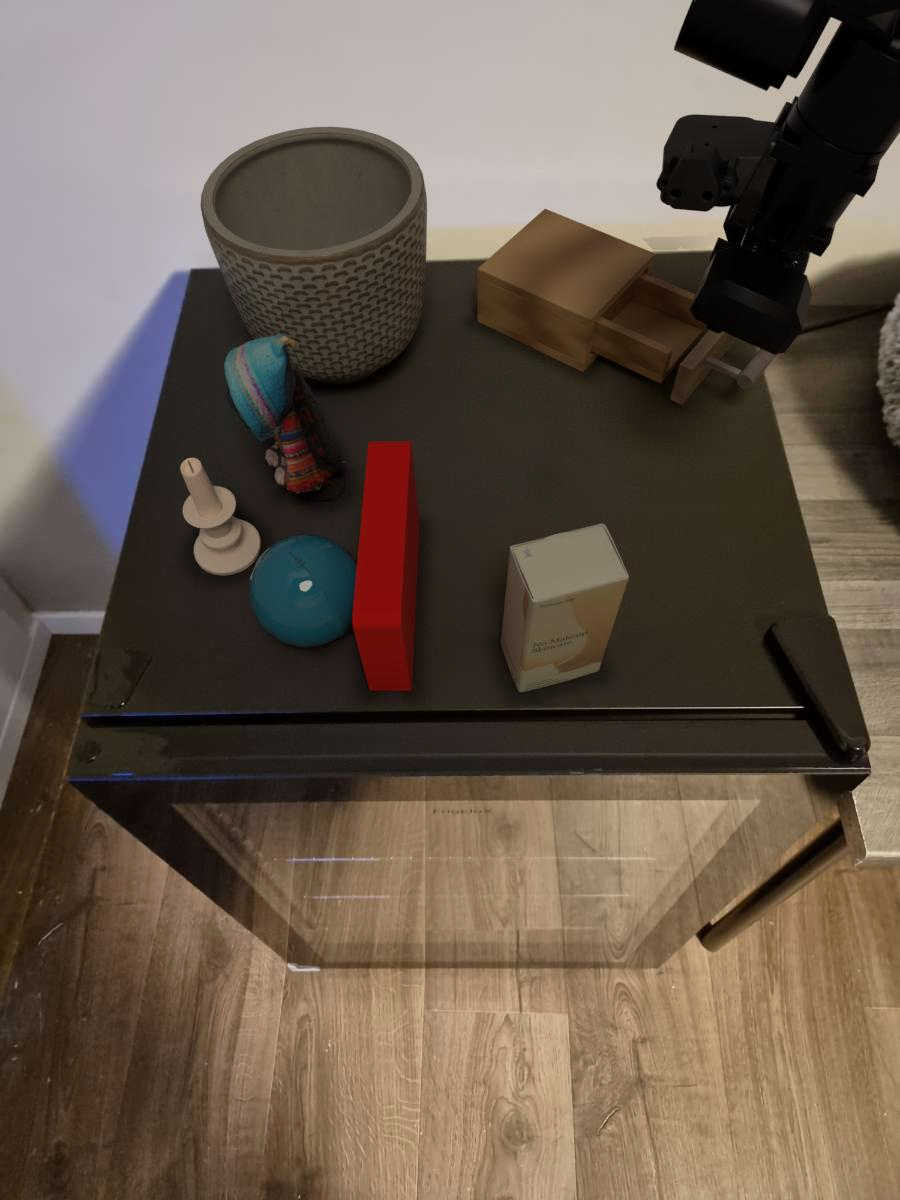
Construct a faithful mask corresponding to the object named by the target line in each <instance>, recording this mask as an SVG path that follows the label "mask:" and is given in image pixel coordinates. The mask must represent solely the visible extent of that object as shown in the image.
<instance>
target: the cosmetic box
mask: <svg viewBox="0 0 900 1200" xmlns="http://www.w3.org/2000/svg"><path fill="white" fill-rule="evenodd" d="M508 557H509V558H508V565H507V575H506V576H507V577H506V585H505V593H504V594H505V595H504V606H503V615H502V625H501V635H500V646H501V647H500V648H501V649H502V652H503V656H504V659H505V662H506V665H507V668H508V670H509V673H510V675H511V679H512V681H513V683H514V685H515V688H516V690H517V691H518V693H525V692H528V691H533V690H538V689H542V688H546V687H549V686H552V685H553V686H554V685H557V684H561V683H564V682H568V681H571V680H574V679H578V678H582V677H584V676H587V675H591V674H595V673H597V672H599V671H600V668H601V665H602V662H603V659H604V656H605V653H606V649H607V646H608V643H609V640H610V637H611V634H612V631H613V629H614V625H615V622H616V618H617V615H618V613H619V609H620V606H621V603H622V600H623V597H624V594H625V591H626V588H627V585H628V581H629V578H630V575H629V573H628V571H627V569H626V565H625V564H624V561H623V559H622V557H621V555H620V552H619V550H618V548H617V546H616V544H615V541H614V539H613V537H612V535H611V533H610V531H609V529H608V527H607V525H606V524H605V523H597V524H594V525H590V526H586V527H582V528H577V529H573V530H569V531H565V532H564V531H563V532H558V533H555V534H552V535H548V536H546V537H541V538H537V539H534V540H530V541H525V542H521V543H517V544H513V545H511V546H510V547H509V556H508Z"/></svg>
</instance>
